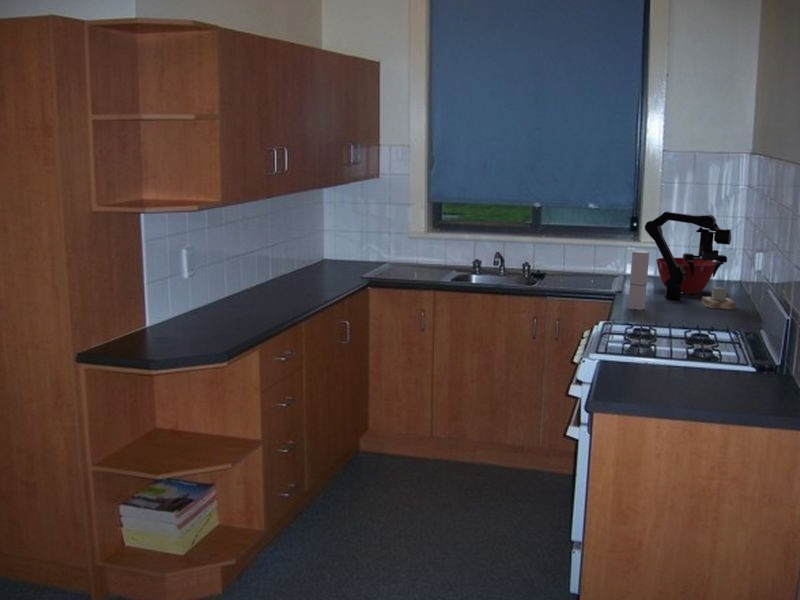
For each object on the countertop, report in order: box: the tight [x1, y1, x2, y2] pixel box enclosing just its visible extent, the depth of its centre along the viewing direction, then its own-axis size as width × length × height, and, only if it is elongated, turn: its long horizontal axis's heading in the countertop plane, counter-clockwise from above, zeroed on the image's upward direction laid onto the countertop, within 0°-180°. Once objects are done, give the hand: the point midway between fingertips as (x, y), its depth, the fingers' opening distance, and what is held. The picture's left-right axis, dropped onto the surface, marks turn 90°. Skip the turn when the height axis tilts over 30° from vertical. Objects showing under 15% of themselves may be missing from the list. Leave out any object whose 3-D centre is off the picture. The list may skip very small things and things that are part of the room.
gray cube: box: [710, 286, 727, 300], centre depth 403 cm, size 5×5×5 cm
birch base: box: [701, 296, 736, 310], centre depth 404 cm, size 12×12×3 cm
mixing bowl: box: [655, 257, 715, 294], centre depth 439 cm, size 28×28×16 cm
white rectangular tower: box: [627, 250, 650, 311], centre depth 390 cm, size 7×7×25 cm
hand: (703, 276), depth 411 cm, fingers open, 9 cm apart
